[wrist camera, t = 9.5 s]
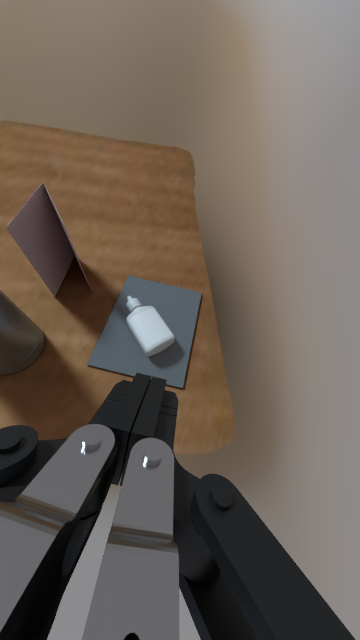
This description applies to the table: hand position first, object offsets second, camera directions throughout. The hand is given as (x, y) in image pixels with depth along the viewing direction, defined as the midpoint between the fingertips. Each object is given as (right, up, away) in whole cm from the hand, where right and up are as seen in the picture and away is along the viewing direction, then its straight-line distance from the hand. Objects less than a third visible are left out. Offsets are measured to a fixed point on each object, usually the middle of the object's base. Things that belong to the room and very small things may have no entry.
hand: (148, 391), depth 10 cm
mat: (-4, +3, +28) cm, 29 cm away
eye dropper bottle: (-1, -1, +24) cm, 24 cm away
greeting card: (-19, +12, +32) cm, 40 cm away
